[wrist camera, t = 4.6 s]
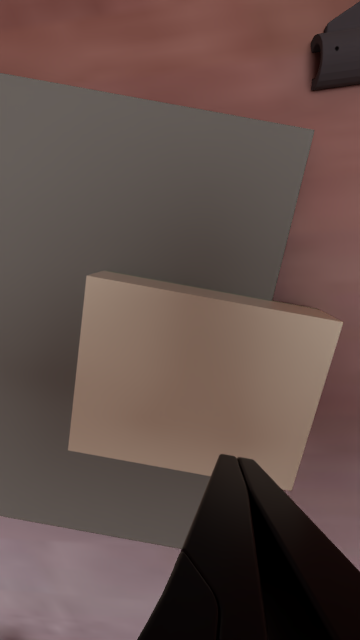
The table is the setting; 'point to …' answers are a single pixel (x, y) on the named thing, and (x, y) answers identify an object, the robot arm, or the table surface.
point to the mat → (123, 257)
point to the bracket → (339, 51)
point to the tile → (197, 375)
